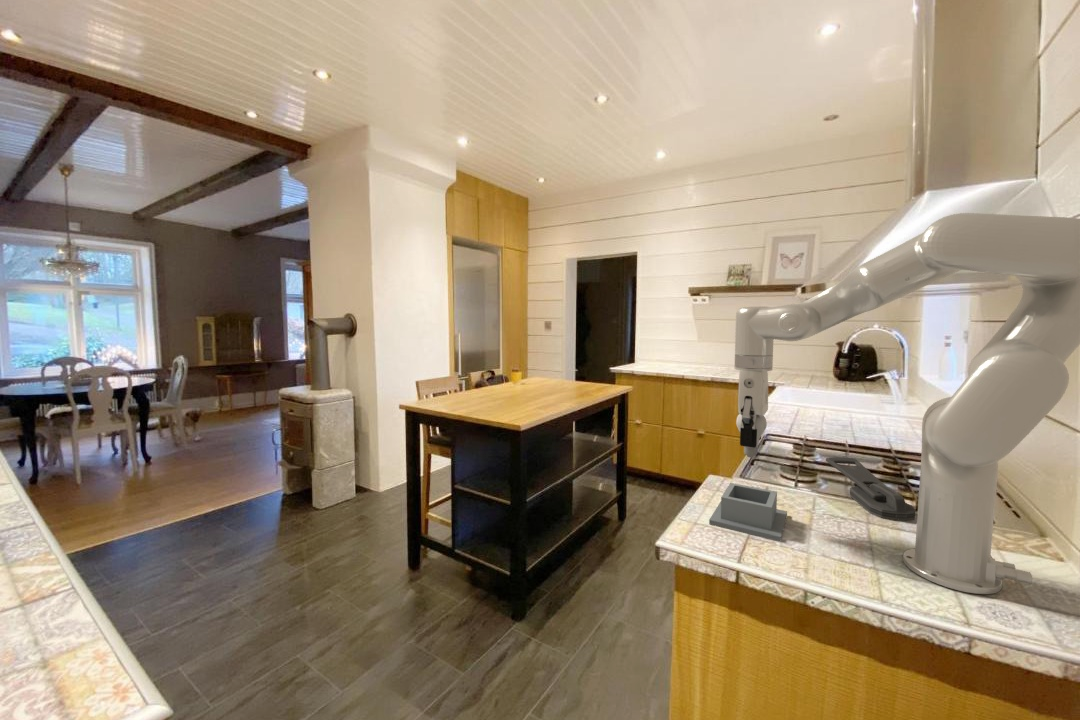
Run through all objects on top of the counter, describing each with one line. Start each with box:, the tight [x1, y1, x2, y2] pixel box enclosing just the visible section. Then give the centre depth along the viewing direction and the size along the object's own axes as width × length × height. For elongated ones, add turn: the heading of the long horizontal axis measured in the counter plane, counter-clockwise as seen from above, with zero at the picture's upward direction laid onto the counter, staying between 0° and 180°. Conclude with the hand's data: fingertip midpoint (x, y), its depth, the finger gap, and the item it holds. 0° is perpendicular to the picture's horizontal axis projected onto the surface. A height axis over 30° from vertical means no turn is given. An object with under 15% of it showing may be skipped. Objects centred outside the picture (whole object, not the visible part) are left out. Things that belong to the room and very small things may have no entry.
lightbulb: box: [735, 412, 768, 458], centre depth 95 cm, size 6×6×11 cm
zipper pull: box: [825, 456, 916, 522], centre depth 107 cm, size 9×7×25 cm
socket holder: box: [708, 482, 788, 542], centre depth 97 cm, size 14×14×6 cm
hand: (750, 441), depth 95 cm, fingers closed on lightbulb, 5 cm apart
